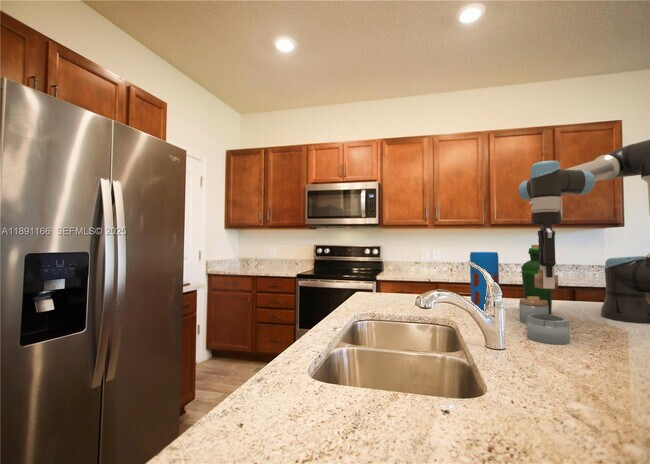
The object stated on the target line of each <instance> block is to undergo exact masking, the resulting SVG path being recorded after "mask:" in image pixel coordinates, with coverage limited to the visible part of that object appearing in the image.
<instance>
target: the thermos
mask: <svg viewBox="0 0 650 464" xmlns="http://www.w3.org/2000/svg"><path fill="white" fill-rule="evenodd" d="M470 261H471V262H473V263H475V264H476V265H478V266H480V267H481V268H483V269H485V270H486V271H487V272H488V273H489V274H490V275H491V277H492V279H493V280H494V282H496V283H497V284H498V285H499V286H500V273H499V272H500V271H499V270H500V269H499V266H500V265H499V254H498V252H496V251H471V252H470V253H469V262H470ZM469 268H470V271H469V272H470V274H469V275H470V302H471V301H472V302H473V303H474V304H475V305H477V306H478V307H479V308H480V309H481V310H483V311H484V304H485V296H486V280H485V278H484V276H483V274H482V273H481V272H480V271H479V270H478V269H476V268H474V267H472V266H471V265H470V264H469Z"/></svg>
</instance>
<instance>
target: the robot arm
mask: <svg viewBox="0 0 650 464" xmlns="http://www.w3.org/2000/svg"><path fill="white" fill-rule="evenodd" d="M637 176H640V178H641V180H643V181H644V182H646V183H647V195H648V212H649V216H650V139H646V140H643V141H639V142H636V143H630V144H628V145H626V146H623V147H620V148H617V149H615V150H613V151H610V152H608V153H604V154H601V155H600V156H597V157H596V158H595V159H594V160H592V161H588V162H584V163H581V164H578V165H575V166H572V167H568V168H565V169H562V167H561V164H560V162H559V161H557V160H542V161H538V162H536V163H533V164H532V165H531V167H530V177H529V178H530V179H527V180H525V181H522V182H521V183H520V184H519V186H518V195H519V196H520V197H521V199H523V200H524V201H529V202H528V205H529V206H530V207H531V212H533V213H531V215H530V216H531V218H530V219H531V220H530V221H531V224H532V225H533V226H540V227H539V228H540V229H539V230H538V231H537V236H538V245H539V263H540V270H543V288H550V289H552V290H556V289H555V278H554V275H555V266H556V264H557V262H556V231H555V230H553V225H555V226H556V225H560V224H561V223H562V214H561V212H560V211H562V205H561V204H562V203H561V201H562V199H561V197H562V196H563V197H564V196H568V195H575V196H578V195H586V194H589V193H590V192H591V191H592V190H594V187H595V185H596V182H597V181H598V182H599V181H600V180H602V181H611V180H614V179H618V178H627V177H637ZM604 263H605V265H604V266H605V267H604V273H605V274H604V277H605V294H606V295H605V298H604V300H603V303H602V305H601V309H600V316H602V317H603V318H606V319H610V320H614V321H620V322H621V321H622V322H629V323H640V324H641V323H642V324H650V300H649V294H650V252H649V253H648V254H646V255H642V256H640V255H639V256H638V255H637V256H622V257H610V258H607V259H606V260H605V262H604Z"/></svg>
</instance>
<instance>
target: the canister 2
mask: <svg viewBox="0 0 650 464" xmlns="http://www.w3.org/2000/svg"><path fill="white" fill-rule="evenodd" d="M526 319H527V323H526V338H527V339H528V340H531V341H534V342H536V343H540V344H547V345H558V346H562V345H568V344H570V342H571V341H570V320H569V318H567V317H565V316H564V317H563V316H560V315H555V314H551V315H549V314H528V315H526Z"/></svg>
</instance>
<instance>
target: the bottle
mask: <svg viewBox="0 0 650 464" xmlns="http://www.w3.org/2000/svg"><path fill="white" fill-rule="evenodd" d="M528 248H529V249H528V253H527V254H529V257H530V260H527V261H526V262H524V263H523V264H522V266H521V267H520V269H521V277H522V278H521V279H522V289H523V290H522V291H523V298H527V296H538V297H539V299H544V300H547V301H548V308H549V315H552V304H553V299H552V298H553V289H541V288H535V274H538V270H540V263H539V244H531V247H528Z"/></svg>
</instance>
